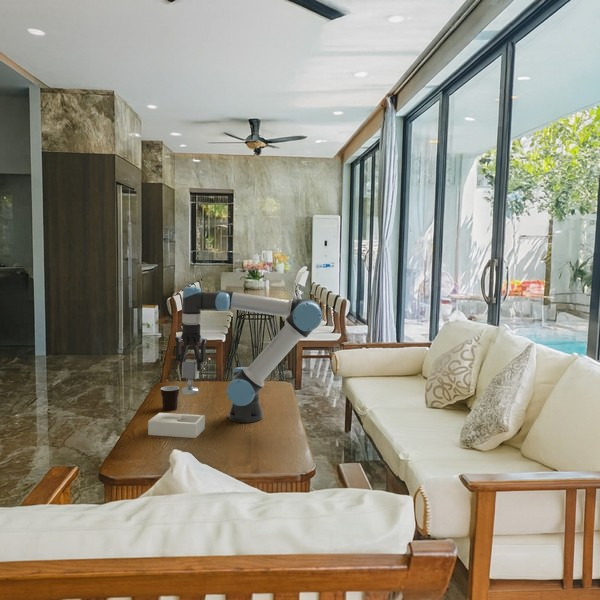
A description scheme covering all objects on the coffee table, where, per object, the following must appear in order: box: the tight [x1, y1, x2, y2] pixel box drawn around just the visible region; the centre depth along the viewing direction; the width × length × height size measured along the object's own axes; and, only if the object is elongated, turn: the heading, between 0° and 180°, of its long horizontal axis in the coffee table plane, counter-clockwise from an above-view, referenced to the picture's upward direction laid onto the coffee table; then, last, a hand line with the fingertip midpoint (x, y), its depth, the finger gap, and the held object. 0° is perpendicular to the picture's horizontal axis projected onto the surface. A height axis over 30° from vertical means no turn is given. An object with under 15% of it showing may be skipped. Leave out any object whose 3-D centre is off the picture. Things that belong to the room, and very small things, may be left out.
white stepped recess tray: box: [147, 412, 206, 439], centre depth 230 cm, size 20×12×6 cm, turn 82°
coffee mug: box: [160, 385, 180, 412], centre depth 264 cm, size 12×9×10 cm
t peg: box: [181, 358, 200, 396], centre depth 237 cm, size 7×7×14 cm
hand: (190, 377), depth 237 cm, fingers closed on t peg, 5 cm apart
